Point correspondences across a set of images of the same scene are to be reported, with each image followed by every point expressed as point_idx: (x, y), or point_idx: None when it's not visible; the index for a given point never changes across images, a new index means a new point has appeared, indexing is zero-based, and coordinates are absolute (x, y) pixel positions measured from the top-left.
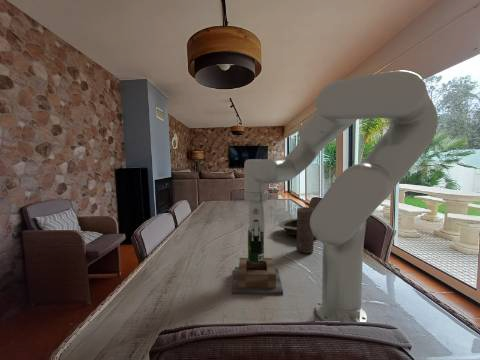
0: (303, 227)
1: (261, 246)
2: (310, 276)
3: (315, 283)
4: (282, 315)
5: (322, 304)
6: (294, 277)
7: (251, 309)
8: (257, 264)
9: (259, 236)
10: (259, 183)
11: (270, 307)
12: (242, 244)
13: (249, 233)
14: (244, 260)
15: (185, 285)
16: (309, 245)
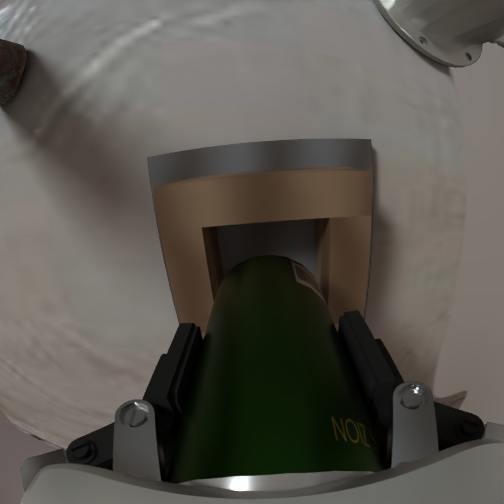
0: None
1: (329, 330)
2: (201, 18)
3: (261, 6)
4: (457, 164)
5: (457, 43)
6: (216, 77)
7: (434, 255)
8: (213, 269)
9: (434, 430)
10: None
11: (431, 196)
12: (14, 312)
13: None
14: None
15: None
16: (7, 46)
